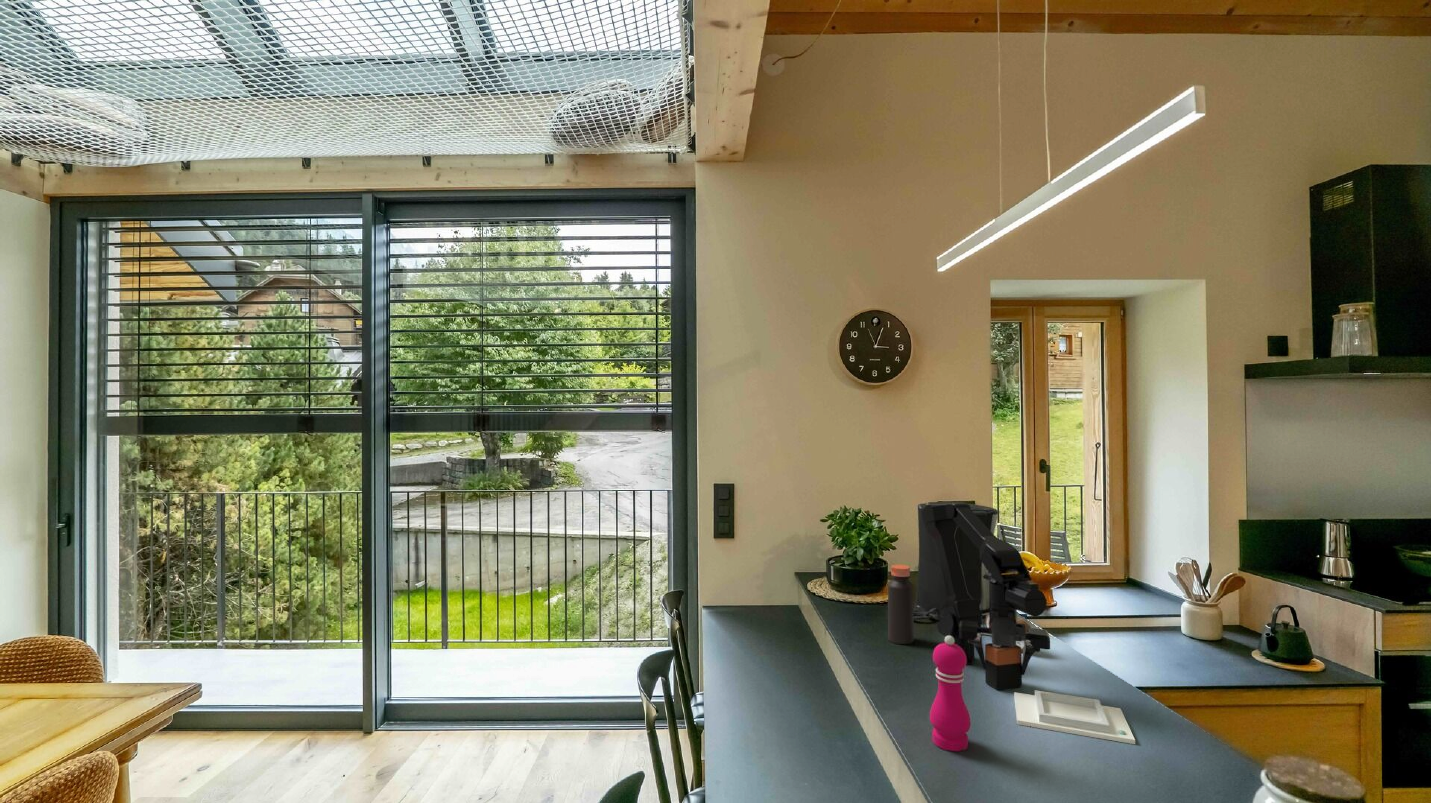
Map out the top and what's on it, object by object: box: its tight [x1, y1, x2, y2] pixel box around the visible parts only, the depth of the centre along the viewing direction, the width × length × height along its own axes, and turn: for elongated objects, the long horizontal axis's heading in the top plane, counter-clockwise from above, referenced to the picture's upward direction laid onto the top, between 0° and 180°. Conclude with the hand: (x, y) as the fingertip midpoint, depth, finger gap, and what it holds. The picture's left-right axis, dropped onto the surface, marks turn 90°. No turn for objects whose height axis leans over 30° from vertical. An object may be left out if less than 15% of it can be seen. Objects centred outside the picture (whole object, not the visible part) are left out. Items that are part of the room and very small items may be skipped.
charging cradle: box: [1013, 689, 1136, 745], centre depth 130 cm, size 20×14×2 cm
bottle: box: [887, 564, 915, 645], centre depth 175 cm, size 7×7×20 cm
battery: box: [984, 642, 1023, 691], centre depth 146 cm, size 4×7×10 cm, turn 105°
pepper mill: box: [929, 636, 972, 752], centre depth 121 cm, size 7×7×20 cm
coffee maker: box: [914, 501, 999, 622], centre depth 199 cm, size 23×32×34 cm
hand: (1003, 671), depth 146 cm, fingers closed on battery, 8 cm apart
